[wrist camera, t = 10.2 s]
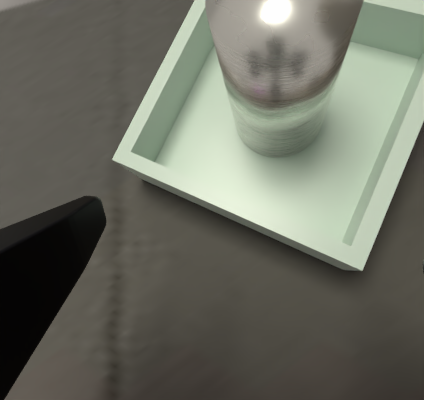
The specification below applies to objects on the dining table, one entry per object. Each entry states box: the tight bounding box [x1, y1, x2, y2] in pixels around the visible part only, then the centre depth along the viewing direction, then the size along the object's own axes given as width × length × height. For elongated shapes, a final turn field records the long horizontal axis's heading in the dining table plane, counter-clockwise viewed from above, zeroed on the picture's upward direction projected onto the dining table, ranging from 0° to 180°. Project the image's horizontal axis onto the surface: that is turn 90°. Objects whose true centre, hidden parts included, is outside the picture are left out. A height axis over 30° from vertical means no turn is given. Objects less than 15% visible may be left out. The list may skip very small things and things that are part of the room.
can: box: [205, 0, 364, 157], centre depth 15 cm, size 5×5×9 cm
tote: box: [112, 0, 424, 271], centre depth 18 cm, size 14×14×4 cm
